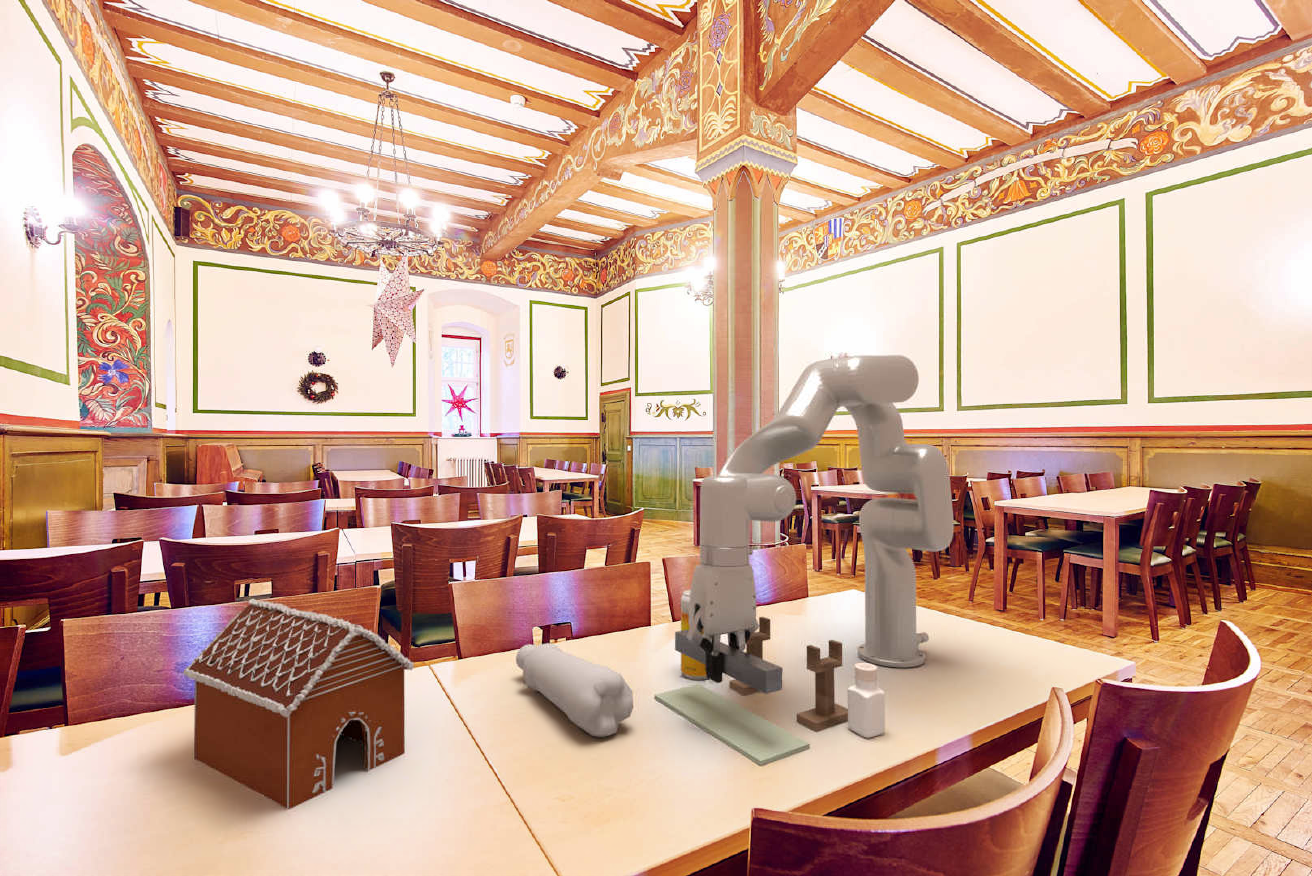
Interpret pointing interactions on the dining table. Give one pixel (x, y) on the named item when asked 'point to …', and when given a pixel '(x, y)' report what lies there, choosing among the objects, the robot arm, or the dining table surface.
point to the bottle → (577, 687)
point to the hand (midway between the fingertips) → (723, 676)
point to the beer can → (688, 665)
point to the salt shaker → (866, 702)
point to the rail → (736, 664)
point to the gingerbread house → (295, 700)
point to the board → (733, 724)
